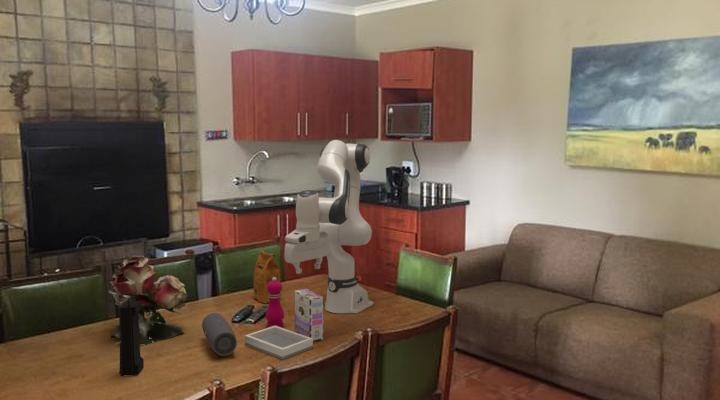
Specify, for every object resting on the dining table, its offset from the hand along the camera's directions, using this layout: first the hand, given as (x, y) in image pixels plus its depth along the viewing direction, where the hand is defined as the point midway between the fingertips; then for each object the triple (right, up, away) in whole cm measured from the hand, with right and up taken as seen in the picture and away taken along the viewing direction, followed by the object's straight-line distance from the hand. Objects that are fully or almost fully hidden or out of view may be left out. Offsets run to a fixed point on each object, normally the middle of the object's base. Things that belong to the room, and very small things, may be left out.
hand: (308, 271), depth 228 cm
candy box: (0, -25, +3) cm, 25 cm away
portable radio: (-55, -29, -30) cm, 69 cm away
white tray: (-10, -26, -8) cm, 29 cm away
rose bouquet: (-63, -24, +6) cm, 68 cm away
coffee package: (-23, -19, +48) cm, 57 cm away
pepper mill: (-14, -24, +13) cm, 30 cm away
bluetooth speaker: (-31, -27, -9) cm, 42 cm away
